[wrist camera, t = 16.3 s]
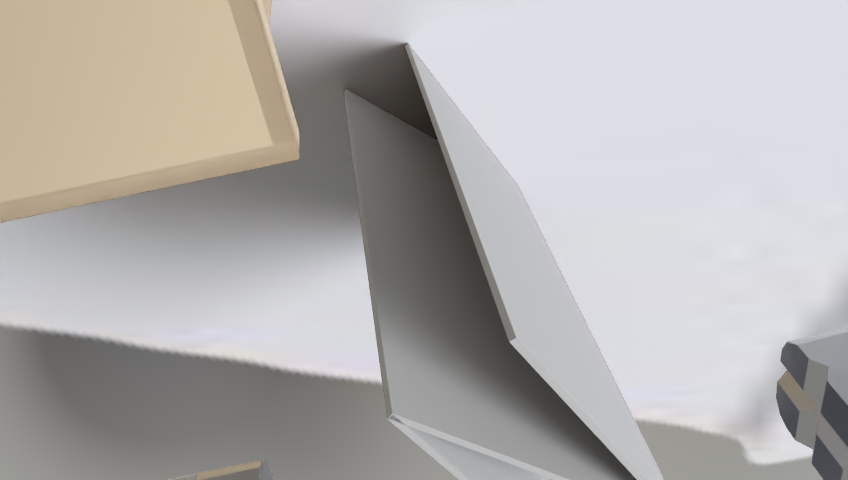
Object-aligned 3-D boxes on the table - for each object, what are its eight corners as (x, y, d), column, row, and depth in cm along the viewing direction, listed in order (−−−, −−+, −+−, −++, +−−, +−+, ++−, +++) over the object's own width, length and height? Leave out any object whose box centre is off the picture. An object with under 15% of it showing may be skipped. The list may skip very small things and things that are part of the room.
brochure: (342, 91, 52) (385, 417, 27) (407, 41, 51) (515, 336, 26) (459, 226, 59) (577, 580, 34) (518, 185, 58) (685, 522, 33)
